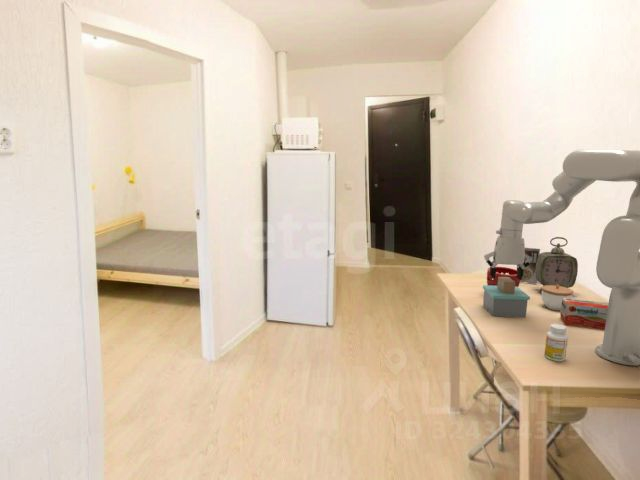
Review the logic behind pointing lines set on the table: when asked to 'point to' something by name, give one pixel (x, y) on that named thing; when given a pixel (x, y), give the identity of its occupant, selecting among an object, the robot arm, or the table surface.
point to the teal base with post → (505, 290)
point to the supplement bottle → (556, 343)
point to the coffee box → (530, 266)
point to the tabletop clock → (556, 267)
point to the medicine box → (584, 313)
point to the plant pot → (502, 270)
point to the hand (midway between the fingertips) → (505, 278)
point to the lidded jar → (555, 296)
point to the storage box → (505, 306)
